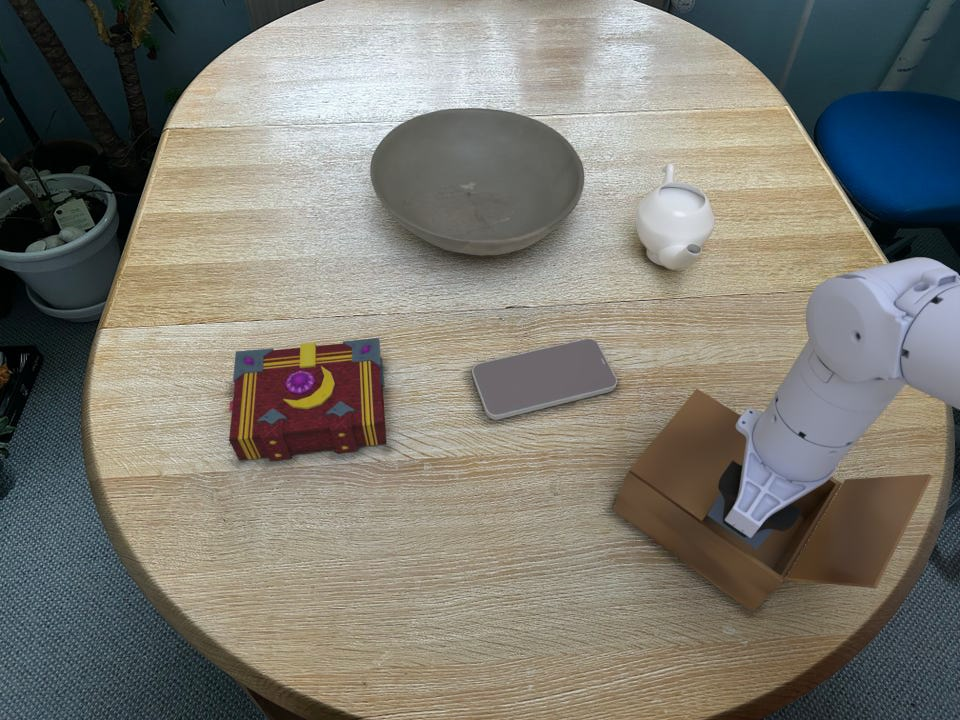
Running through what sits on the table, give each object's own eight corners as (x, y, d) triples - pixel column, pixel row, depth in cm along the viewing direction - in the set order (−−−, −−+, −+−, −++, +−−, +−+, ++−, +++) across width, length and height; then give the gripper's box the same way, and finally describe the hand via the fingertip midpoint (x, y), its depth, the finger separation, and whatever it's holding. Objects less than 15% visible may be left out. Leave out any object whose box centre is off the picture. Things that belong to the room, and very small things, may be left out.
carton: (808, 519, 65) (845, 479, 59) (751, 612, 59) (786, 578, 53) (675, 433, 71) (696, 387, 65) (612, 509, 65) (628, 468, 59)
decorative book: (388, 448, 69) (384, 421, 65) (227, 467, 67) (212, 440, 63) (382, 362, 76) (378, 333, 72) (236, 377, 74) (223, 348, 70)
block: (732, 478, 58) (749, 451, 54) (781, 510, 56) (802, 484, 52) (706, 515, 56) (723, 489, 52) (756, 549, 54) (777, 525, 50)
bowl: (362, 286, 83) (354, 235, 77) (388, 153, 101) (383, 102, 94) (583, 294, 83) (593, 243, 77) (570, 159, 101) (578, 109, 94)
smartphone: (469, 364, 75) (594, 335, 78) (469, 369, 76) (593, 341, 78) (489, 418, 70) (620, 385, 73) (488, 423, 71) (619, 390, 74)
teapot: (688, 206, 94) (706, 149, 87) (714, 311, 82) (738, 255, 75) (619, 204, 94) (633, 146, 87) (635, 308, 82) (652, 251, 75)
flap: (844, 479, 59) (846, 481, 59) (785, 577, 53) (787, 580, 53) (930, 473, 52) (932, 476, 52) (873, 585, 47) (876, 588, 47)
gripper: (808, 318, 49) (746, 421, 60) (711, 446, 42) (661, 537, 53) (905, 369, 46) (822, 467, 57) (819, 515, 39) (743, 596, 50)
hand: (750, 504), depth 55 cm, fingers closed on block, 4 cm apart
